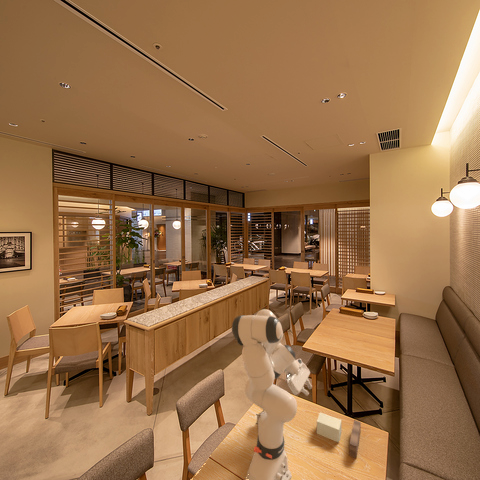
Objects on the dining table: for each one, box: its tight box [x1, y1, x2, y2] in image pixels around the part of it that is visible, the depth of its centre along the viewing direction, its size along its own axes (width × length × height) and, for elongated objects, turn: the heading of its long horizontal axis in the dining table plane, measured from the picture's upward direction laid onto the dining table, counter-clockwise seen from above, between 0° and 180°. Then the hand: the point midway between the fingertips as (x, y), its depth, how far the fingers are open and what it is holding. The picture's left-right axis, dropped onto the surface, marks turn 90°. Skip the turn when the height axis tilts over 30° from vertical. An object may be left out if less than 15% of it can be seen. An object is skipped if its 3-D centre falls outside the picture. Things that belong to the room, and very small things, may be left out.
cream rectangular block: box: [316, 411, 343, 444], centre depth 129 cm, size 7×11×7 cm, turn 59°
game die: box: [255, 409, 266, 425], centre depth 134 cm, size 9×8×10 cm
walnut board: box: [349, 419, 362, 459], centre depth 122 cm, size 16×3×6 cm, turn 148°
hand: (309, 391), depth 133 cm, fingers open, 4 cm apart
